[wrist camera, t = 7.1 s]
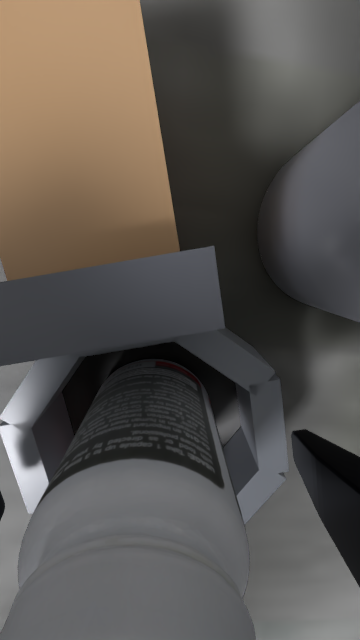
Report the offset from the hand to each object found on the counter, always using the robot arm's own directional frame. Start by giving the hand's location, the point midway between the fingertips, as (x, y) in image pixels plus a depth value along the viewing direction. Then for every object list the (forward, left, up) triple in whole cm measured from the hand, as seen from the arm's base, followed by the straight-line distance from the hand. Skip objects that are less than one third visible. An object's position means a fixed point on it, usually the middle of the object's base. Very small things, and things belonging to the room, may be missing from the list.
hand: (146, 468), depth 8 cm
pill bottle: (0, 0, -4) cm, 4 cm away
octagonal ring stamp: (+3, 0, -3) cm, 5 cm away
